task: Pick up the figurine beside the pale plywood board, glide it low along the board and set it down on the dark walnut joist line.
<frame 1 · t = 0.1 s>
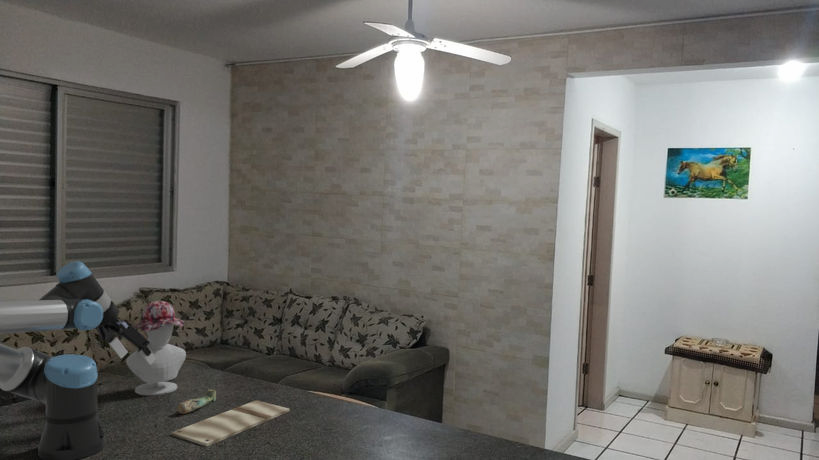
hand: (138, 358, 193), 15 cm above the countertop, tool tilted 35°, fingers open, 13 cm apart
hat: (159, 391, 210), on the countertop
figurine: (197, 408, 195), on the countertop
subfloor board: (233, 422, 183), on the countertop
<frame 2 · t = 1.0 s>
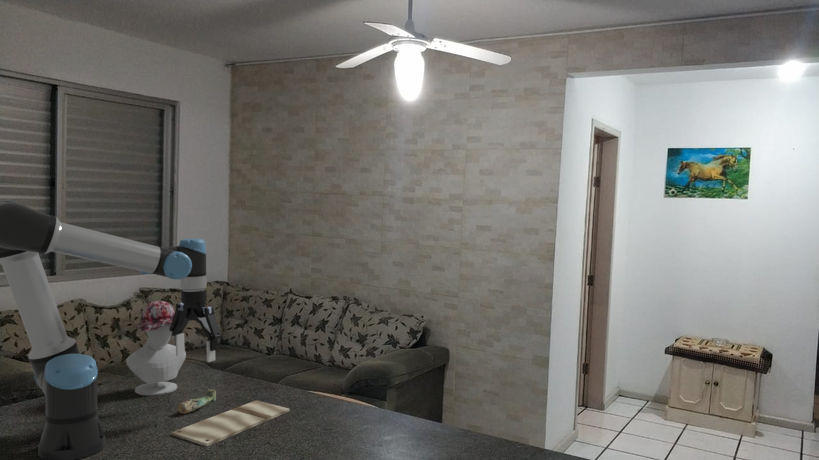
hand: (195, 357, 194), 15 cm above the countertop, tool pointing down, fingers open, 13 cm apart
nothing on the countertop moved.
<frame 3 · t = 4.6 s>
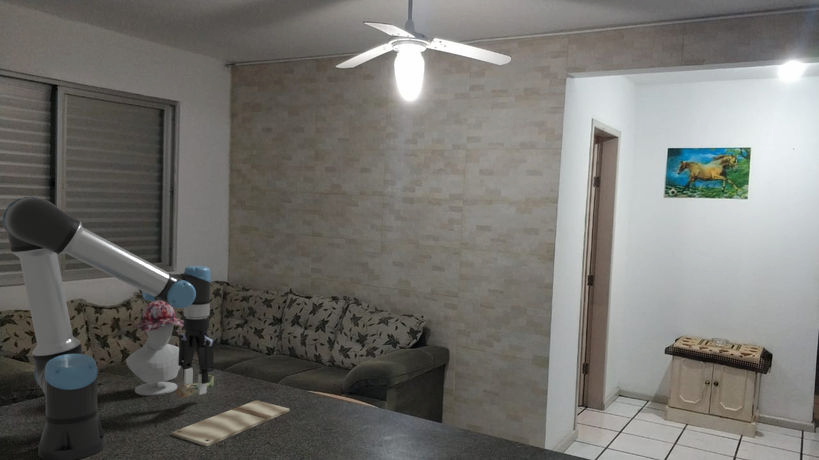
hand: (195, 391, 195), 5 cm above the countertop, tool pointing down, fingers closed on figurine, 6 cm apart
figurine: (195, 393, 195), point 4 cm above the countertop, touching gripper
everything else where it was.
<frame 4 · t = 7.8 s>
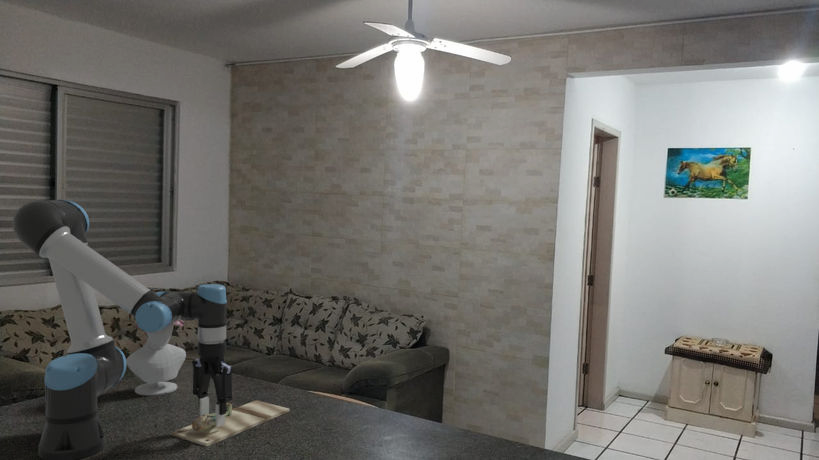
hand: (212, 423, 176), 2 cm above the countertop, tool pointing down, fingers closed on figurine, 6 cm apart
figurine: (212, 424, 177), point 2 cm above the countertop, touching gripper
everything else where it was.
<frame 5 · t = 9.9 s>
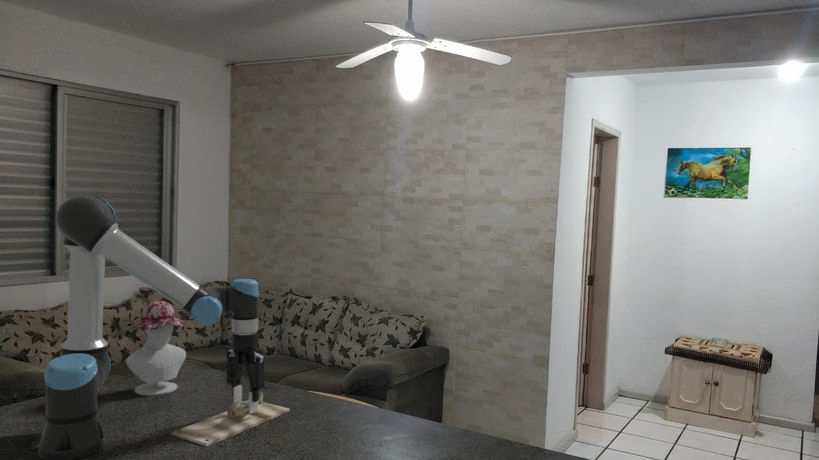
hand: (245, 409, 186), 2 cm above the countertop, tool pointing down, fingers closed on figurine, 6 cm apart
figurine: (245, 411, 187), point 2 cm above the countertop, touching gripper
everything else where it was.
when the fingers open (2 cm above the countertop, at t = 11.3 s): figurine stays where it is, resting on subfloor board.
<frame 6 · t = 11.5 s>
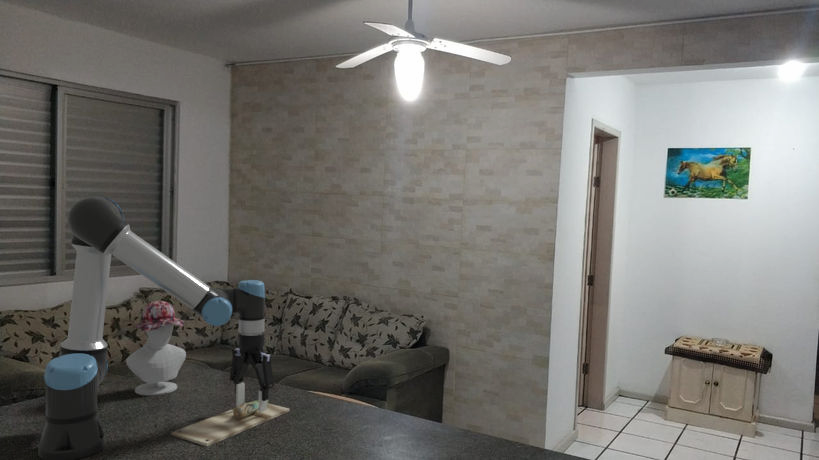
hand: (251, 407, 189), 2 cm above the countertop, tool pointing down, fingers open, 8 cm apart
figurine: (251, 412, 189), point 1 cm above the countertop, touching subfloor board
everything else where it was.
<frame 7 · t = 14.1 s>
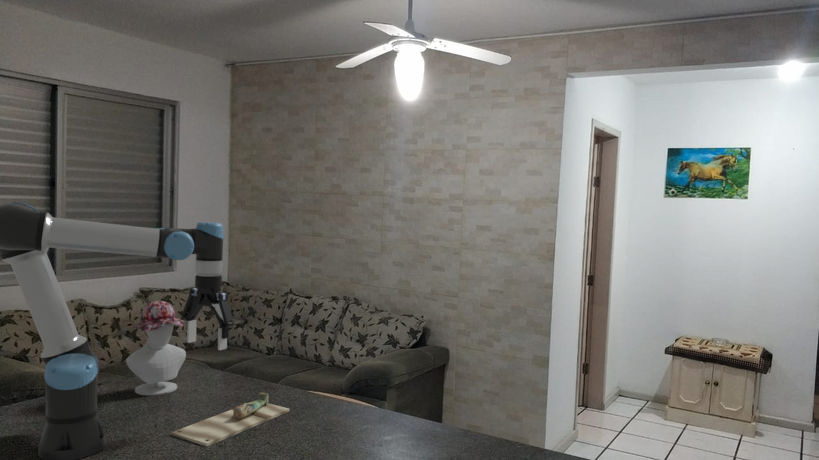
hand: (206, 345, 188), 21 cm above the countertop, tool pointing down, fingers open, 13 cm apart
nothing on the countertop moved.
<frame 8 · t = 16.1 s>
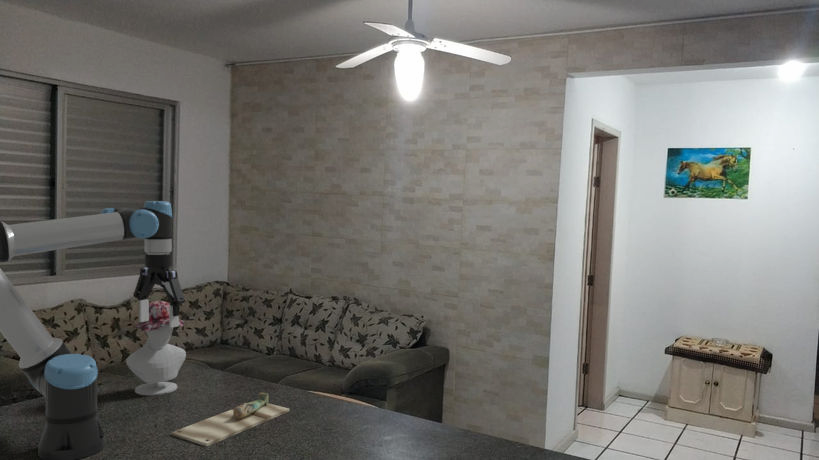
hand: (158, 324, 189), 27 cm above the countertop, tool pointing down, fingers open, 13 cm apart
nothing on the countertop moved.
at the end: figurine inside the target area (0.6 cm from its centre), point 0.7 cm above the countertop; figurine touching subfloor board; the gripper is holding nothing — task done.
